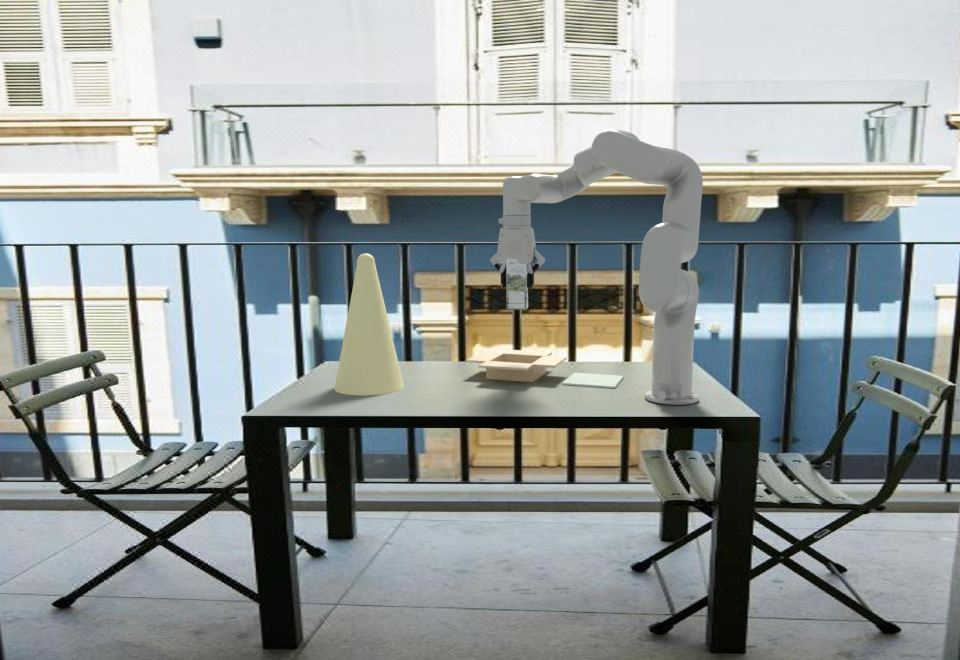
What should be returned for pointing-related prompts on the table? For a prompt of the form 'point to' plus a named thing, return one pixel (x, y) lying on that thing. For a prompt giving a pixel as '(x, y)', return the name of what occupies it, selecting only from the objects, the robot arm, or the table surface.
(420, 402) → the table surface
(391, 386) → the cone light
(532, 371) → the kraft carton
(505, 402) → the table surface
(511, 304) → the syrup box
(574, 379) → the sage rubber mat
